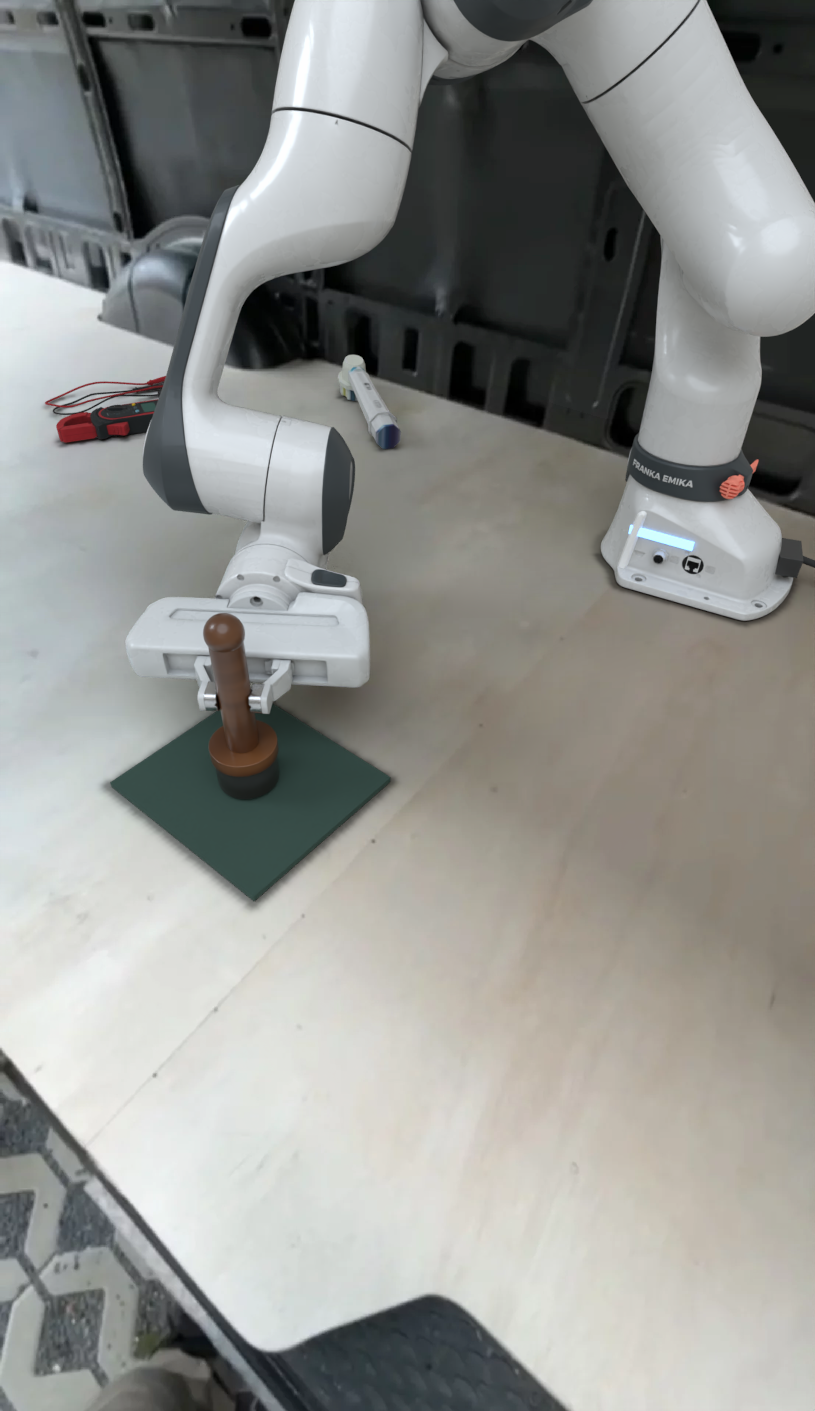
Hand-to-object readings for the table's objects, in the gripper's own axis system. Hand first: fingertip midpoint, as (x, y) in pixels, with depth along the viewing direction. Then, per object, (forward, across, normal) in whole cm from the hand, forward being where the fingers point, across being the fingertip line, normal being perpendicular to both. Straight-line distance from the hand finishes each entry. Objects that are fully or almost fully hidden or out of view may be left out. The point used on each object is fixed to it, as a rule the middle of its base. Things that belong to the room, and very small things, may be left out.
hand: (233, 706), depth 61 cm
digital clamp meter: (-80, -36, +10) cm, 89 cm away
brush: (-1, 0, +9) cm, 9 cm away
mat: (-1, 0, +10) cm, 10 cm away
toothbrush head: (-81, +3, +10) cm, 81 cm away
